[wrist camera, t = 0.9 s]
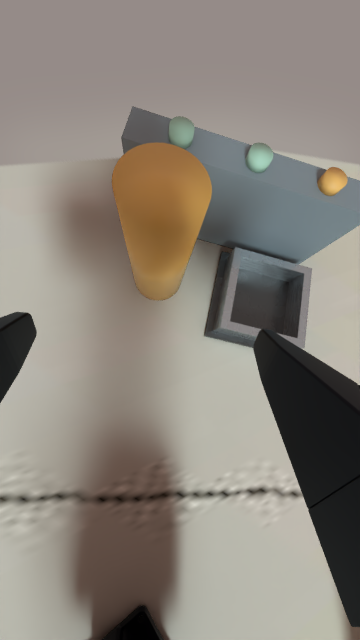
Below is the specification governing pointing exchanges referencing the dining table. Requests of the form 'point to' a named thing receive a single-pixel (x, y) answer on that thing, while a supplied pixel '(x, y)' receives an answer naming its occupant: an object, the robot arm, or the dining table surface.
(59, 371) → the dining table surface
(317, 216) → the block
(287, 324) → the box
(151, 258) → the peg
